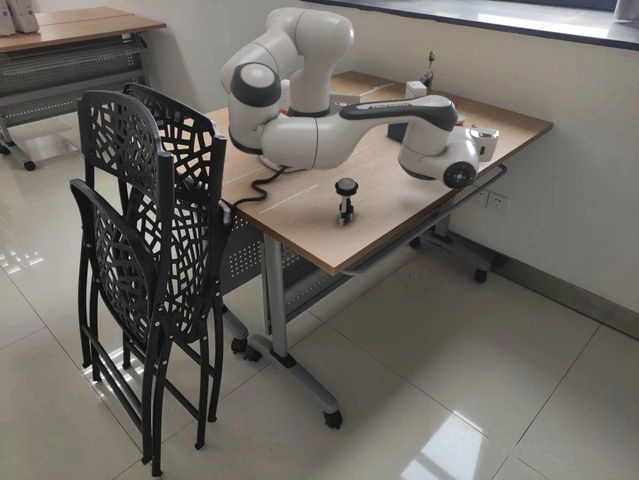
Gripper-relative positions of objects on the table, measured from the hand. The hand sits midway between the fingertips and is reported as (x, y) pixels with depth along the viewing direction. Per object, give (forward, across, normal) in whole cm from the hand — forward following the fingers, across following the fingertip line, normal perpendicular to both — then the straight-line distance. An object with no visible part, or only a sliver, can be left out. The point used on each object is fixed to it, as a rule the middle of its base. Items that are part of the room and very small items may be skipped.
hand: (456, 125), depth 122 cm
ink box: (+36, -12, -12) cm, 40 cm away
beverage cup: (+10, 0, -10) cm, 14 cm away
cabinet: (+18, -10, -12) cm, 24 cm away
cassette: (+33, -36, -12) cm, 51 cm away
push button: (-34, -24, -12) cm, 43 cm away
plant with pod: (+51, -10, -12) cm, 53 cm away
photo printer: (+30, -59, -12) cm, 67 cm away
